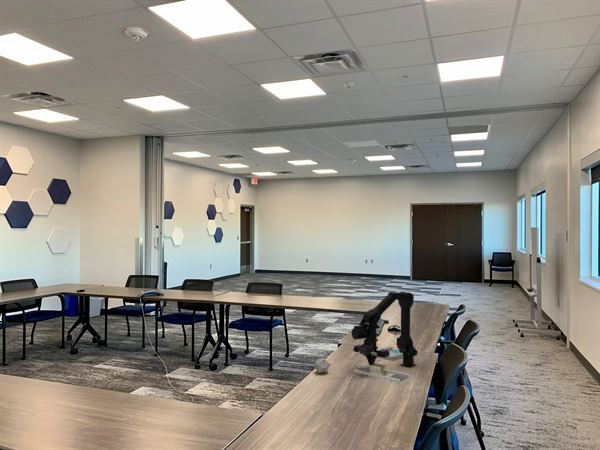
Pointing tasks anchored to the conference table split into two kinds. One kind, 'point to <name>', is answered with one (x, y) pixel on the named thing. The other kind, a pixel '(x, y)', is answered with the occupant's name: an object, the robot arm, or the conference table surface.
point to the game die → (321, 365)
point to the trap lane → (389, 376)
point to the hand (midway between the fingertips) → (371, 367)
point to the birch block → (378, 369)
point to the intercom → (392, 354)
